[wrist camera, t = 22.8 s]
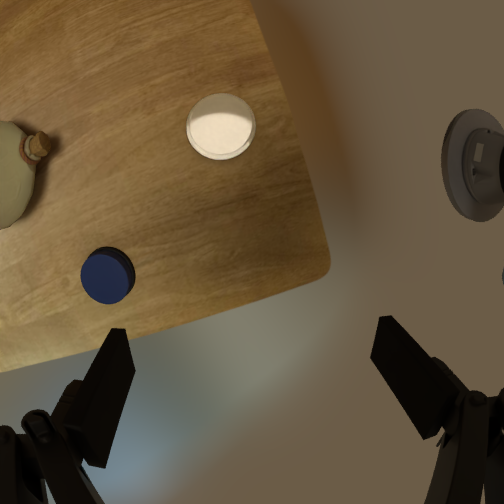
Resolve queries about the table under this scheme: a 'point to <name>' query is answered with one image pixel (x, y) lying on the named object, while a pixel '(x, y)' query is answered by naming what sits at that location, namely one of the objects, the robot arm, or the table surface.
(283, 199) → the table surface
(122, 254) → the coaster
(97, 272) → the jar lid
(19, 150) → the flask
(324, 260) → the table surface
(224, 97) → the jar
